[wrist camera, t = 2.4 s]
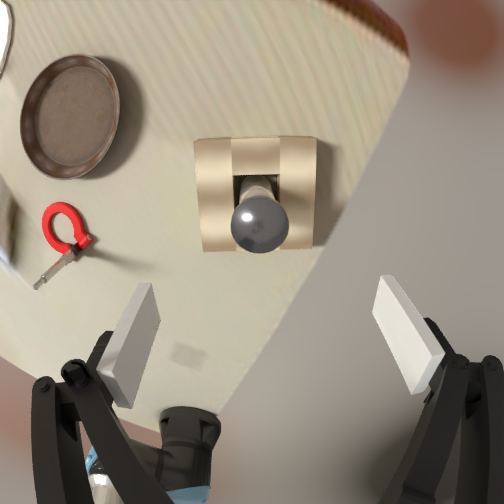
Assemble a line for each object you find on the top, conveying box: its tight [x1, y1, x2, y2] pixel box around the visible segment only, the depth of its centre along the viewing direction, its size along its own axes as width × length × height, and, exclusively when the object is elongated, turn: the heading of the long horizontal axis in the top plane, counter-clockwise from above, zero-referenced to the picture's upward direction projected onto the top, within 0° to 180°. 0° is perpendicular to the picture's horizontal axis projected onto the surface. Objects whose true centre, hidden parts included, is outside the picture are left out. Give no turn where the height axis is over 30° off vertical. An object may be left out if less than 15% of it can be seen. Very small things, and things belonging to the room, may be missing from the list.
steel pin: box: [231, 175, 289, 253], centre depth 32 cm, size 5×5×13 cm
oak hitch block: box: [194, 136, 317, 252], centre depth 36 cm, size 14×14×4 cm
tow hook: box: [33, 202, 92, 290], centre depth 34 cm, size 8×13×9 cm
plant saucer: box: [20, 54, 120, 180], centre depth 31 cm, size 18×18×3 cm
